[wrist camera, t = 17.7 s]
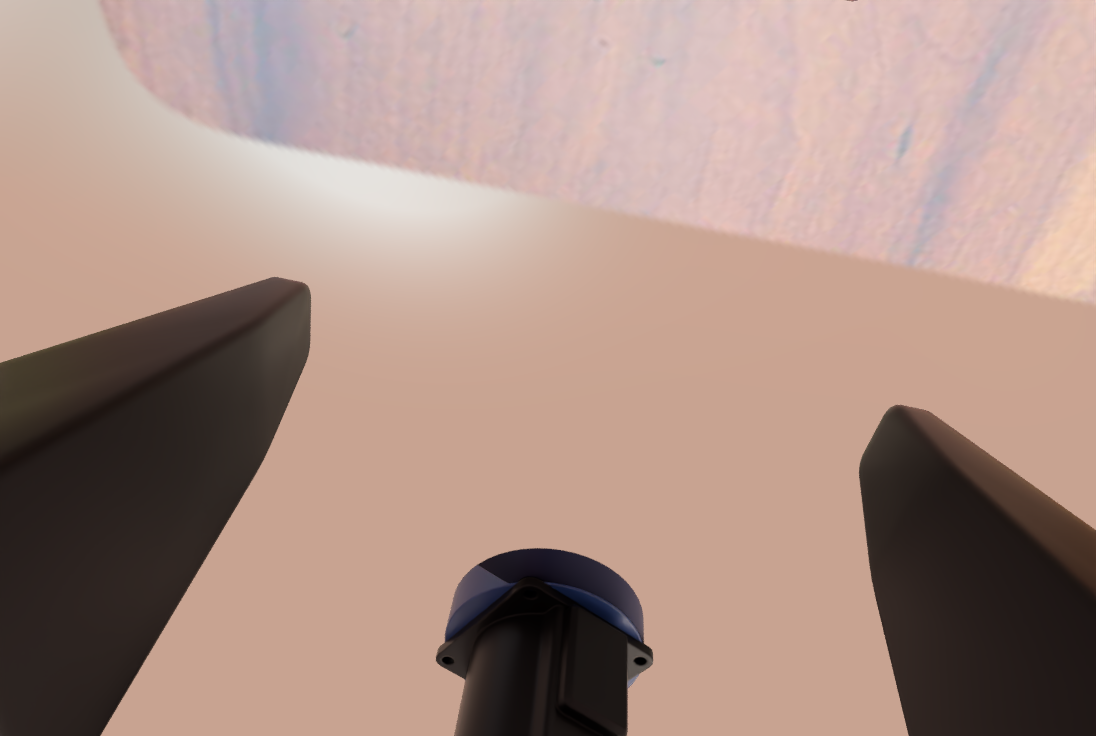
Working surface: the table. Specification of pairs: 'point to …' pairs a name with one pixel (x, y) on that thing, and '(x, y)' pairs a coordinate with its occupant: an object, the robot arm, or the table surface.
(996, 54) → the table surface
